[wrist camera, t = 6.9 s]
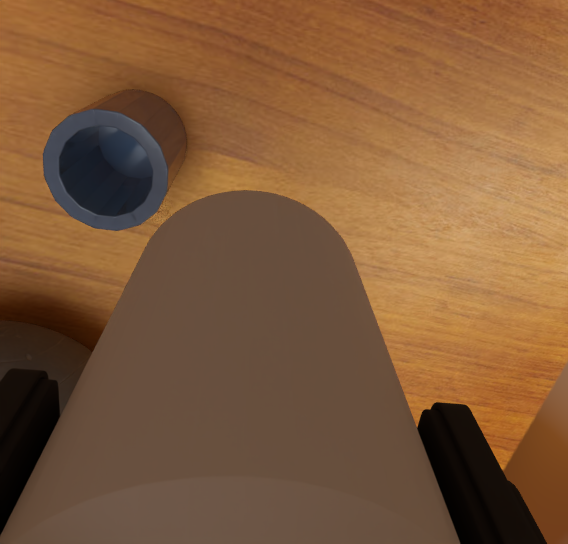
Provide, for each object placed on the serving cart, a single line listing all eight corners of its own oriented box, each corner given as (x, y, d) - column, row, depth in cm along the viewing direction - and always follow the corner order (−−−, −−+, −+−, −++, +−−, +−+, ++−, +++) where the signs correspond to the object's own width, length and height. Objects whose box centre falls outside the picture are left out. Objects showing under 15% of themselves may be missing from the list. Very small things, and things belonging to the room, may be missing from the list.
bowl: (142, 483, 47) (103, 632, 36) (-78, 452, 45) (-194, 601, 34) (171, 307, 40) (135, 424, 29) (-89, 259, 38) (-242, 366, 26)
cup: (88, 82, 33) (39, 101, 26) (190, 96, 34) (171, 119, 27) (89, 180, 36) (45, 222, 29) (184, 192, 36) (164, 236, 29)
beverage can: (228, 404, 18) (181, 975, 7) (94, 262, 16) (-267, 801, 5) (392, 305, 17) (631, 831, 6) (273, 134, 14) (312, 493, 4)
